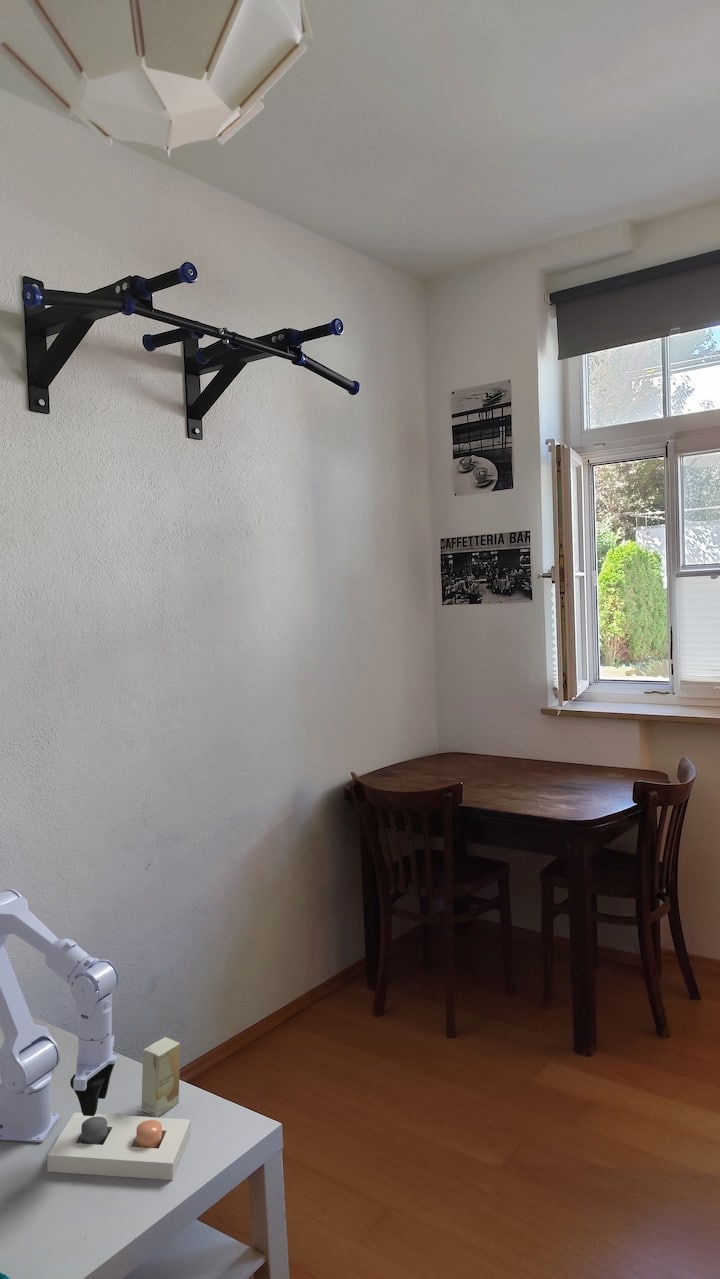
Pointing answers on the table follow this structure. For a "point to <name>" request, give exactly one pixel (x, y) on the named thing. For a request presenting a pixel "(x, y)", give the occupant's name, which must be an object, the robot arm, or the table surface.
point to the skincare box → (160, 1076)
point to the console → (120, 1149)
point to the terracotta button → (149, 1134)
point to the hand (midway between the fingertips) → (94, 1105)
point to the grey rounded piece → (94, 1131)
